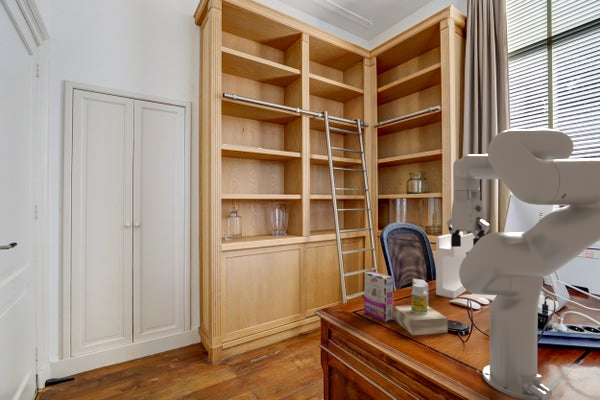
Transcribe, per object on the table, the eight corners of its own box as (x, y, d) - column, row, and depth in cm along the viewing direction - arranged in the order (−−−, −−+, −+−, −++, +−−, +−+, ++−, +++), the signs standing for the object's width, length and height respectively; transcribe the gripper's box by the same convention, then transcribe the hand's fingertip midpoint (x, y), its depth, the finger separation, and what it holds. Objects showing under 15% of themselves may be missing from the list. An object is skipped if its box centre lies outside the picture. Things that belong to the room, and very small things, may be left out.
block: (460, 280, 163) (460, 231, 163) (476, 283, 157) (476, 232, 157) (436, 294, 139) (436, 236, 139) (453, 298, 133) (454, 238, 133)
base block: (447, 332, 99) (447, 318, 99) (412, 335, 97) (412, 320, 97) (425, 317, 112) (425, 304, 112) (394, 319, 110) (394, 306, 110)
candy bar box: (394, 319, 109) (394, 276, 109) (385, 322, 107) (385, 278, 107) (372, 310, 119) (372, 270, 119) (363, 312, 116) (363, 272, 116)
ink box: (428, 314, 115) (429, 284, 115) (415, 313, 116) (415, 283, 116) (424, 306, 123) (424, 279, 123) (411, 305, 124) (411, 278, 124)
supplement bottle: (428, 310, 105) (428, 284, 105) (426, 315, 101) (426, 288, 101) (412, 307, 108) (412, 282, 108) (410, 312, 103) (410, 286, 103)
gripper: (498, 195, 87) (499, 252, 86) (457, 197, 104) (457, 244, 103) (477, 195, 85) (477, 253, 85) (438, 197, 102) (439, 245, 102)
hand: (466, 248), depth 94 cm, fingers open, 9 cm apart
